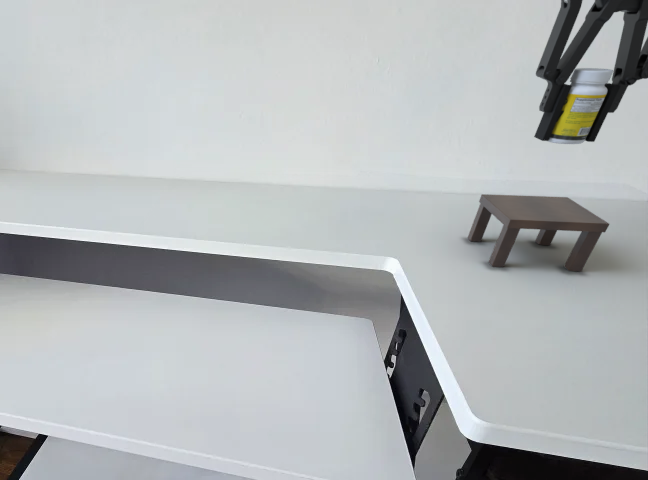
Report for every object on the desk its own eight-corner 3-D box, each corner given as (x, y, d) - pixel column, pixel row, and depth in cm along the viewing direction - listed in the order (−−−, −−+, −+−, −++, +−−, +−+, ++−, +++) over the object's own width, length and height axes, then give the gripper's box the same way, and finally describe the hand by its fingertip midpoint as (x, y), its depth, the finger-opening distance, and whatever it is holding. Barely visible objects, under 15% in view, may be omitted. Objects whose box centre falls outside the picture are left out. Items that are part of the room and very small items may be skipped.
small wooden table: (546, 241, 79) (567, 197, 75) (583, 272, 70) (609, 223, 66) (465, 237, 81) (481, 194, 77) (490, 267, 72) (510, 219, 68)
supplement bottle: (539, 136, 70) (568, 67, 65) (579, 138, 68) (612, 67, 63) (544, 143, 67) (575, 70, 62) (587, 145, 65) (622, 71, 60)
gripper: (590, -95, 52) (501, 143, 66) (793, -106, 49) (655, 146, 63) (558, -84, 58) (483, 132, 72) (737, -94, 55) (622, 135, 69)
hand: (563, 138), depth 67 cm, fingers closed on supplement bottle, 5 cm apart
